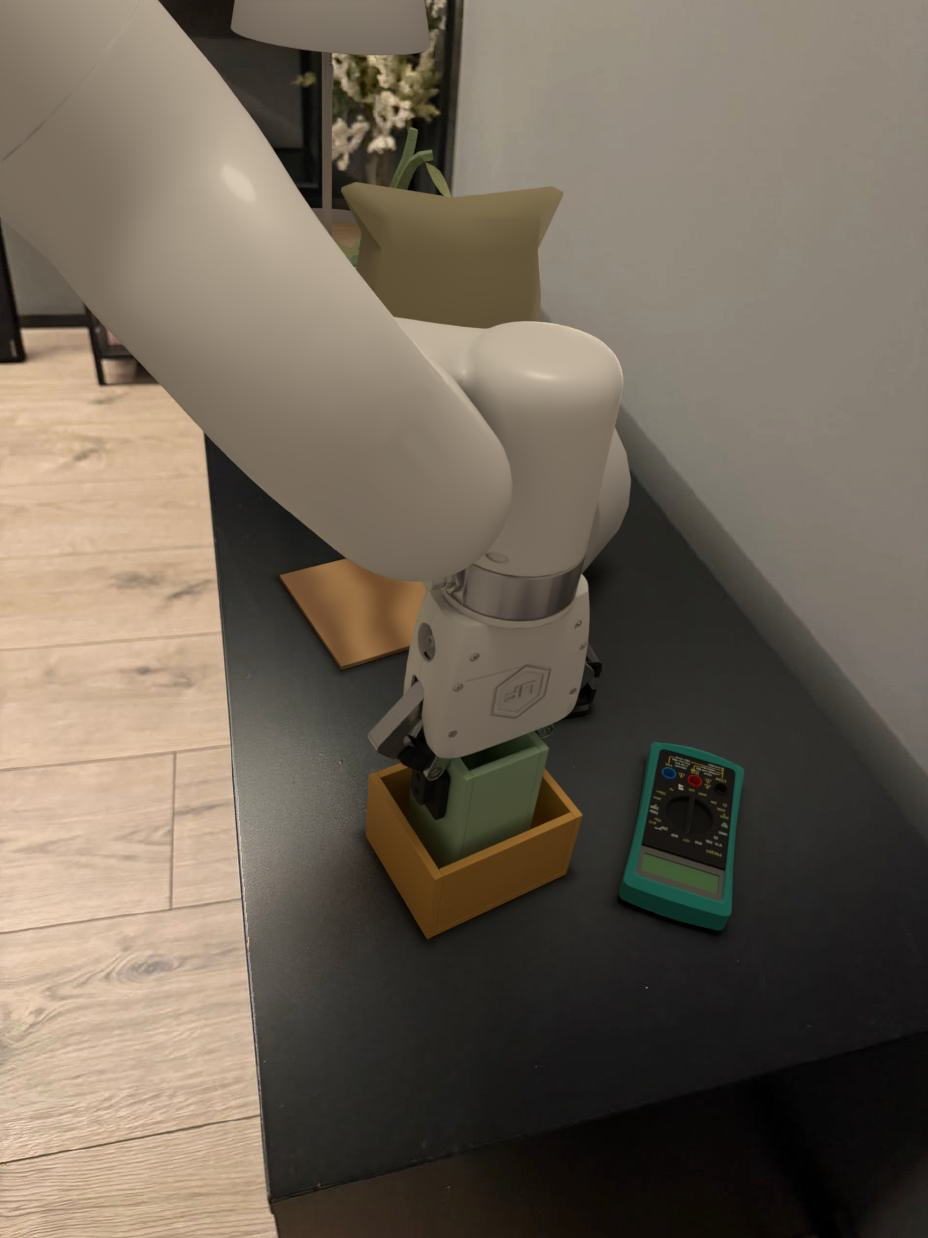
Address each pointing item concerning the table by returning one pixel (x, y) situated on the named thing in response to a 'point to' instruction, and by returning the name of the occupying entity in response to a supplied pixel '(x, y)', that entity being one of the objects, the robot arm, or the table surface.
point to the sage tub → (483, 800)
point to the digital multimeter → (685, 836)
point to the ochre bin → (477, 877)
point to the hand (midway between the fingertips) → (473, 783)
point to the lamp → (331, 23)
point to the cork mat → (356, 610)
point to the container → (453, 252)
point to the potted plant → (404, 182)
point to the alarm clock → (610, 500)
